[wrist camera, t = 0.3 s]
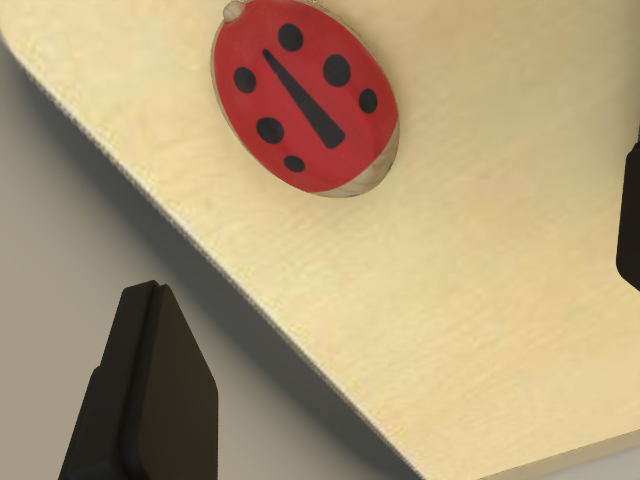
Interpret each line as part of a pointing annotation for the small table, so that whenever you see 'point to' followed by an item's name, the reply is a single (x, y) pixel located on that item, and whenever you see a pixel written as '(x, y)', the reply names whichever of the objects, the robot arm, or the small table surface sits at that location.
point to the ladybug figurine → (305, 96)
